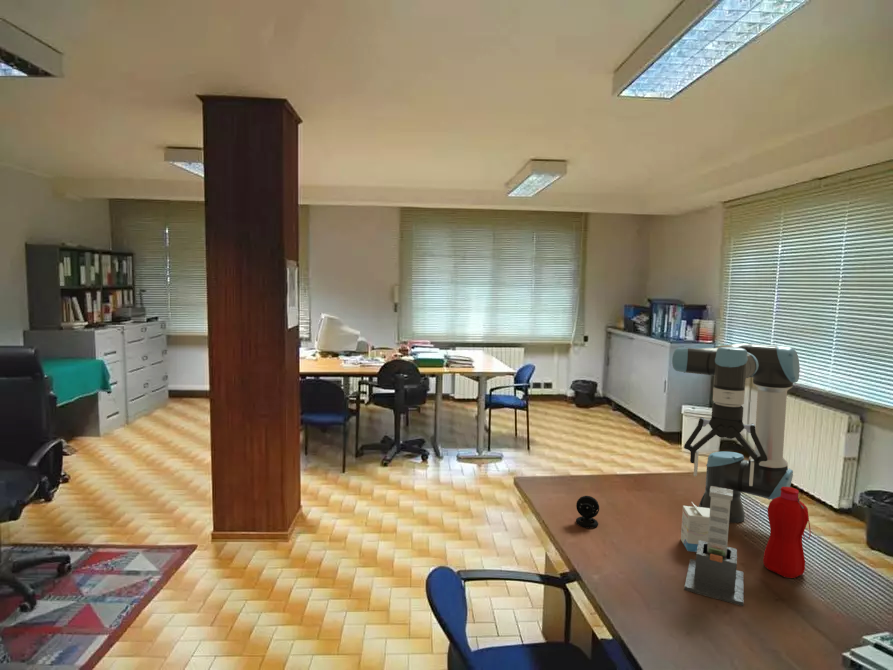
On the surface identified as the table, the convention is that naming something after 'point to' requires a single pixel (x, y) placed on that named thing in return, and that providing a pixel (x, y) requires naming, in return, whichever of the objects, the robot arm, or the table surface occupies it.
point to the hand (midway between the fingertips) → (722, 479)
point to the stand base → (715, 575)
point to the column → (719, 520)
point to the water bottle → (786, 534)
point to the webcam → (587, 511)
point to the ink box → (694, 526)
